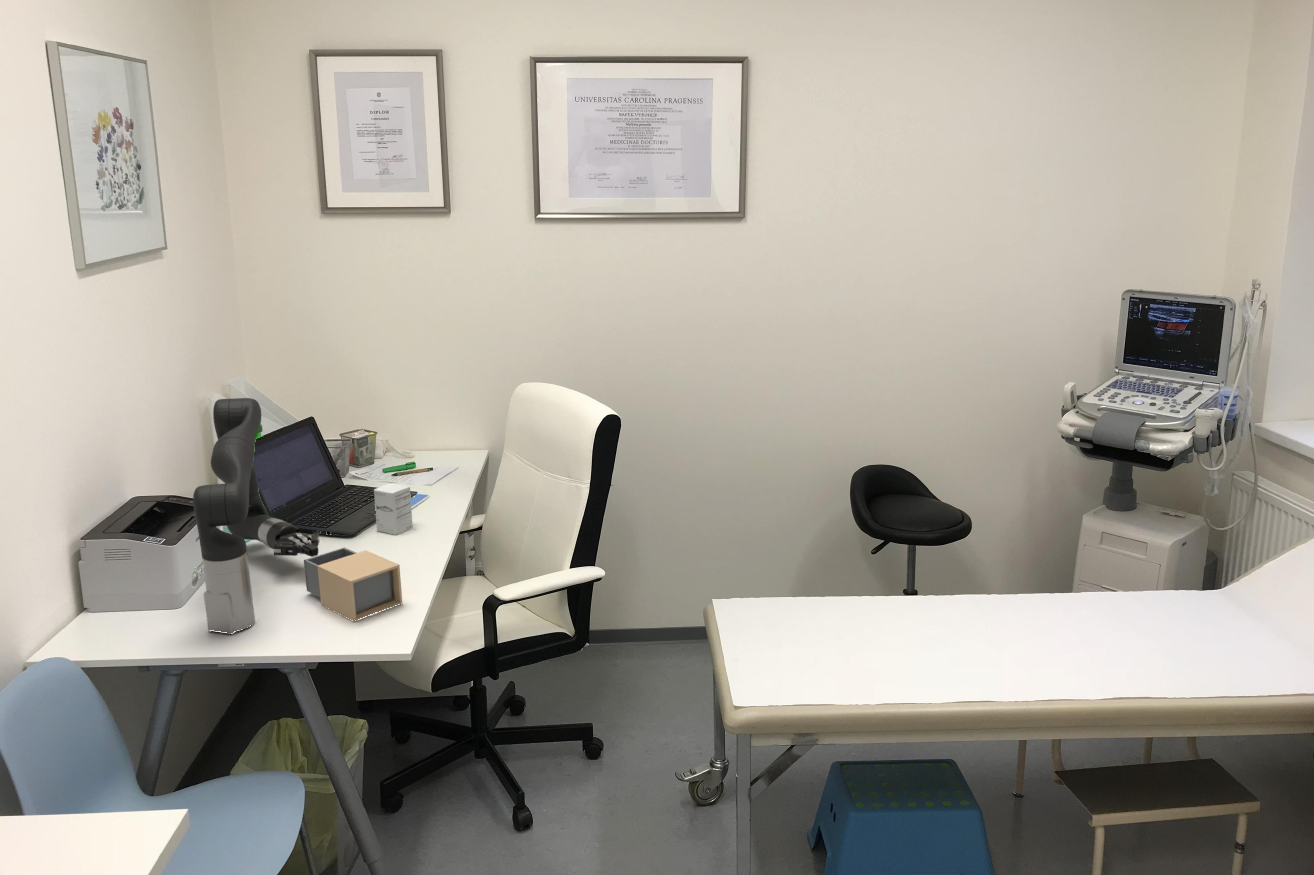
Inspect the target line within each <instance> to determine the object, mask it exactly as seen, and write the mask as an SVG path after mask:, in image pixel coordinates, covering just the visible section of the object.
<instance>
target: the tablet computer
mask: <svg viewBox="0 0 1314 875" xmlns="http://www.w3.org/2000/svg"><path fill="white" fill-rule="evenodd" d="M415 494H416V495H415V497H414V498H413V499H411V509H414V508H415V507H417V506H418V505H420V504H421V503H423V502H424V501H426V500H428V499H429V498H430V495H429V494H424V493H423V494H421V493H415Z"/></svg>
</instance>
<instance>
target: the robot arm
mask: <svg viewBox="0 0 1314 875" xmlns="http://www.w3.org/2000/svg"><path fill="white" fill-rule="evenodd" d="M212 409H213V411H212V412H213V413H212V415H213V416H212V418H213V425H214V431H215V434H216V438H217V441H216V442H215V444H214V446H213V448H212V453H211V456H210V466H211V469H212V470H211V471H213V474H215V476H216V477H217V478H218V479H219V480H220V481H221V482H223V483H217V484H215V483H214V484H204V485H203V484H202V485H199V486H197V487H196V488H195V490H194V492H193V496H192V502H193V506H192V507H193V512H194V517H195V518H194V519H195V523H196V526H197V532H198V538H199V544H200V552H201V553H200V554H201V560H202V566H203V574H204V582H205V591H204V592H203V598H204V606H205V613H206V614H205V615H206V622H207V629H208V631H209V630H214V631H221V632H227V633H233V632H234V631H237V630H241V629H245V628H247V627H249V626H250V625H252V624H253V623H254V622H255V623H256V619H255V618H256V615H255V610H254V609H255V608H254V602H253V591H252V584H251V582H252V581H251V575H250V567H249V559H248V558H249V557H248V556H249V555H248V550H247V543H246V540H249V541H250V540H251V541H259V543H263V545H264V546H266V547H268V548H270V549H272V550H273V555H274V556H290V557H291V556H293V557H294V556H295V557H296V556H298V555H299V554H300V555H305V556H308V557H310V558H312V557H315V556H318V555H319V545H320V535H319V534H320V533H319V532H316V531H315V532H313V534H311V535H309V534H308V533H303V532H302V531H301V530H300V529H299V528H298V527H297V526H295V525H293V524H292V523H289V522H287V521H284V520H283V519H280V518H276V517H274V516H271V515H270V514H269V512H268V511H267V507H265V506H264V504H263V502H262V500H261V497H260V494H259V488H258V479H257V474H256V471H255V469H254V467H253V461H254V452H255V442H256V438H257V435H258V432H259V428H260V424H261V425H262V410H261V409H262V408H261V406H260V404H259V402H258V400H257V399H255V398H250V397H243V398H242V397H239V398H234V397H233V398H220V399H217V400H216V401H215V402H214V405H213V408H212ZM218 527H226V528H227V530H228V531H229V532H226V531H224V530H221V529H220V528H218ZM255 623H254V624H255ZM254 624H253V625H254ZM253 625H252V626H253ZM245 630H246V629H245Z"/></svg>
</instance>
